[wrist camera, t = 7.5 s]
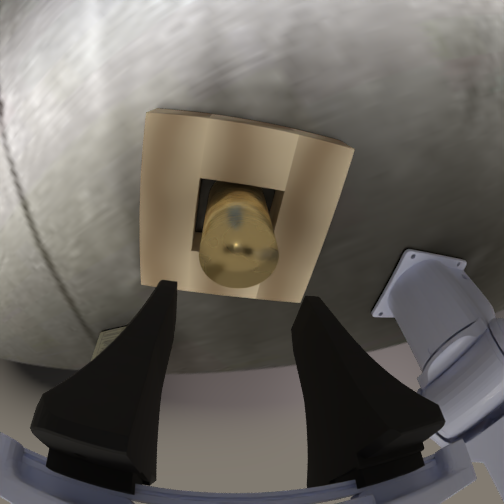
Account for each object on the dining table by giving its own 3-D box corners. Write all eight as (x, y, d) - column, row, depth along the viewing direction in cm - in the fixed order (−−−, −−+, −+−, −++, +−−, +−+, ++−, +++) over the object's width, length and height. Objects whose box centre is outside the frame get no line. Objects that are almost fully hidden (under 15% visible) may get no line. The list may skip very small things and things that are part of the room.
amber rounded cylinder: (271, 182, 19) (290, 233, 13) (254, 229, 21) (263, 294, 15) (216, 167, 18) (209, 213, 12) (202, 217, 20) (192, 279, 14)
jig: (340, 140, 18) (354, 149, 15) (294, 282, 24) (300, 302, 22) (157, 108, 16) (146, 112, 14) (148, 264, 22) (141, 284, 20)
